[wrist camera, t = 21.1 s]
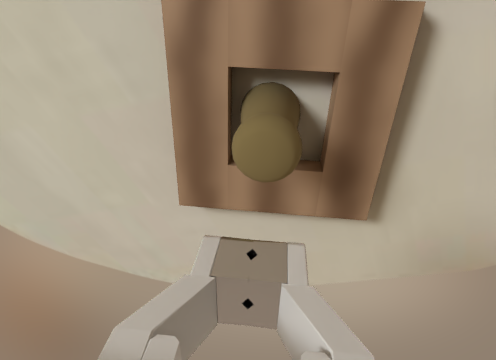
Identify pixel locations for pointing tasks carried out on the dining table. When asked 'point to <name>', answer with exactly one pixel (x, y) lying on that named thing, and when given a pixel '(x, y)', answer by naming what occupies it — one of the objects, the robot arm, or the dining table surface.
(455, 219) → the dining table surface
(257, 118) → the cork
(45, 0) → the dining table surface
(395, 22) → the walnut dock
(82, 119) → the dining table surface
